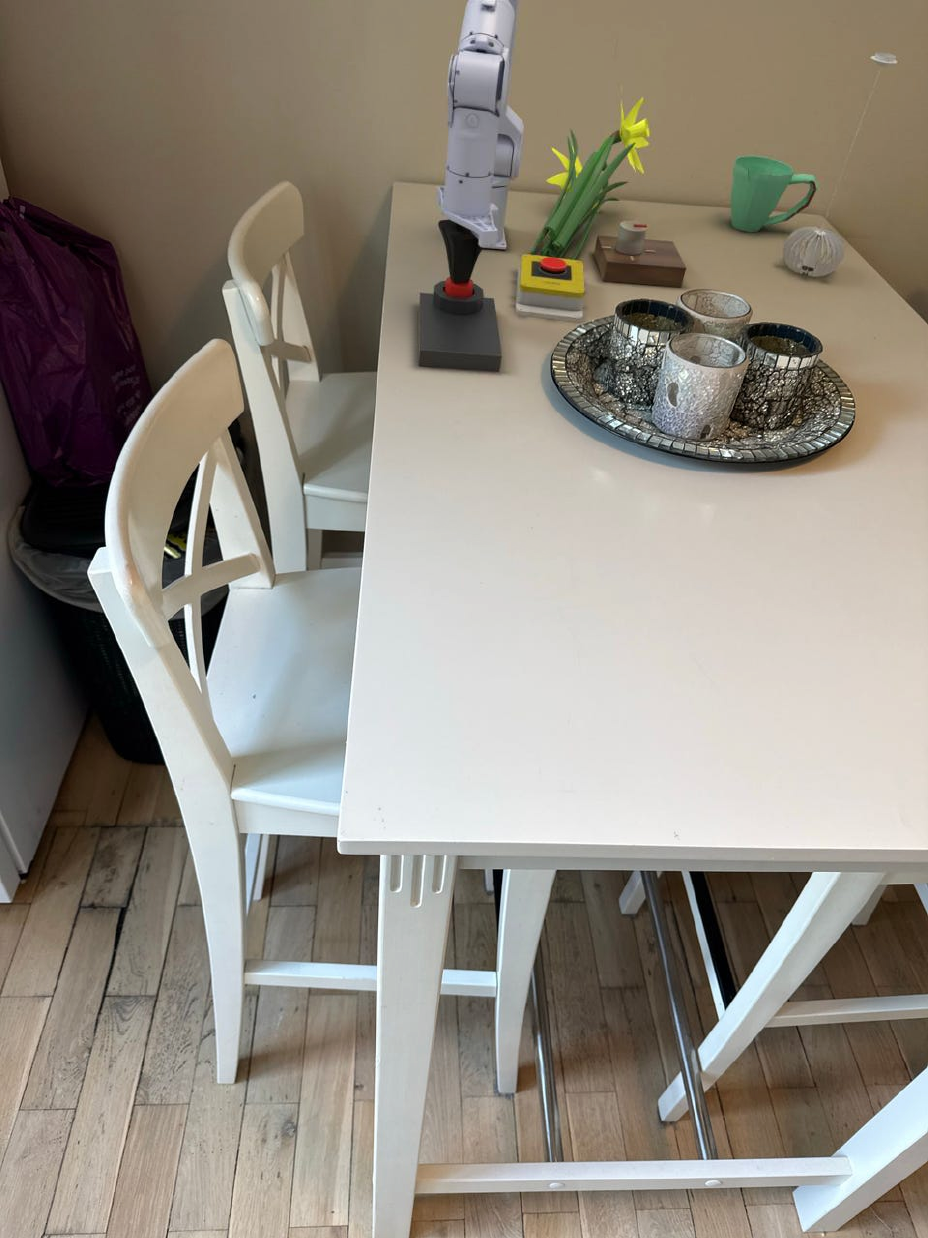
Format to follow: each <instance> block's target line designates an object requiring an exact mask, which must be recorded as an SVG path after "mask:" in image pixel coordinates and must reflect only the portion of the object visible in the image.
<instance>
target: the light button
mask: <svg viewBox="0 0 928 1238" xmlns="http://www.w3.org/2000/svg"><path fill="white" fill-rule="evenodd" d="M445 281H446V285H445V293H446V294H447V295H450V296H453V297H463V298H465V297H470V296H472V292H473V283H474V281H473V279H471V278H470V280H469V282H468V283H460V284H454V283H453V281H452V280H451V278H450V276H448V277H446V279H445Z"/></svg>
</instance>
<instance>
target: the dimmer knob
mask: <svg viewBox="0 0 928 1238" xmlns="http://www.w3.org/2000/svg"><path fill="white" fill-rule="evenodd" d="M647 231H648V225H647V224H646V223H645V224H644V223H642V222H638V221H635V220H624V221H621V222H620V223H619V228H618V232H617V236H616V237H617V241H616V246H615V249H616V250H617V251H619V252H621V253H624V254H628V255H637V254H640V253H641V251H642V247H643V243H644V239H646V233H647Z"/></svg>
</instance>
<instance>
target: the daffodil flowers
mask: <svg viewBox="0 0 928 1238" xmlns="http://www.w3.org/2000/svg"><path fill="white" fill-rule="evenodd" d="M620 91H621V93H623V92H622V91H623V86H622V85H621V86H620ZM622 101H623V100H620V112H621V113H620V115H621V116H620V127H619V129H617V130H615V131H614V132H613V133H611V134H610V135H609V136H608V137H607V138H606V139H605V140H604V142H602V145H601V146H600V148H599V149H598V151H593V152H591V154H590V155H589V157H588V159H586V162H585V163H584V165H583V166H582V163H581V161H580V159H579V157H578V152H579V144H578V139H577V138H576V135H575V134H574V131H573V129H572V128H569V130H570V136H571V140H570V137H569V136H567V147H568V152H569V153H568V154H569V155H568V157H569V158H567V156H565V155H564V154H562V153H561V152H560V151H559V150H557V149H556V148H554V147H551V150H552V152H553V153H554V154H555V155H556V156H557V157H558V159H559V160H560V162H561V163H562V165H563V167H564V168H565V170H566V171H565V172H561V173H559V174H556V175H553V176H551V177H549V178H547V179H546V182H547V183H548V184H552V185H557V186H559V187H560V190H561V191H560V194H559V196H558V197H557V200H556V202H555V204H554V205H553V207H552V209H551V212H550V214H549V216H548V218H547V220H546V222H545V223H544V226H543V228H542V230H541V232H540V234H539V236H538V238H537V239H536V241H535V243H534V245H533V246H532V248H531V250H530V252H529V253H528V254H529V255H534V253H535V251H536V249H537V248H538V246H539V244H542V243H543V241H544V240H545V239H546V237H547V235H548V236H549V237H548V238H547V240H546V241H545V244H544V246H543V247H542V249H541V251H540V253H539V254H540V256H545V257H554V258H563V256H564V255H565V253H566V251H567V249H568V248H569V247H570V245H571V243H572V242H573V240H574V239H575V237H576V236H577V235H578V234H579V232H580V231H581V230H582V228H583V226H584V225H585V224H586V223H587V222H588V223H587V224H586V227H585V230H584V232H583V233H582V235H581V238H580V240H579V242H578V244H577V246H576V248H575V250H574V252H573V254H572V256H571V258H570V260H577V257H578V254H579V253H580V251H581V249H582V247H583V245H584V243H585V241H586V239H587V236H588V234H589V232H590V230H591V228H592V225H593V224H594V221H595V219H596V217H597V214H598V213H599V212H600V208H601V206H603V205H604V204H605V203H606V202H620V199H618V198H616V197H614V196H613V197H612V196H610V197H606V195H607V194H608V193H610V192H611V191H613V190H614V189H617V188H620V187H621V186H623V185H626V184H628V183H629V181H617V182H613V183H611V184H609V181H610V178H611V176H613V174H614V173H615V171H616V170H617V169H618V167H619V166H620V164H622V162H623V161H624V159H625V158H626V157H627V159H628V161H629V164H630V165H631V167H632V168H633V170H634V171H635V173H636V172H637V170H639V172H641V173H642V175H643V174H645V172H644V168H643V164H642V162H641V160H640V158H639V155H638V152H637V149H640V148H644V147H647V146H649V145H650V143H649V141H647V140H646V139H645V138H649V137H650V136H651V134H650V133H651V131H650V129H651V128H649V126H650V124H648V123H649V121H648V118H647V117H645V118H643V119H642V120H640V121H639V122H637V123H636V120H637V117H638V113H639V110H640V108H641V106H642V104H643V102H644V96H642V97H641V98H640V99H639V100H638V101H637V102H636V103H635V105H634V106H633V107H632V108H631V110H630V111H629V113H628V114H627V116H626V118H625V112H624V107H623V102H622ZM571 141H572V143H573V144H572V143H571ZM621 142H622V144H623V145H624V147H625V148H624V149H622V151H620V152H619V153H618V154H617V155H616V156H615V157H614V158H612V160H611V161H610V162H609V163H607V160H608V158H609V155H610V153H611V150H612V148H613V146H614V145H616V144H619V143H621ZM636 148H637V149H636ZM636 169H637V170H636Z"/></svg>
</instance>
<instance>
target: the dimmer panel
mask: <svg viewBox="0 0 928 1238" xmlns="http://www.w3.org/2000/svg"><path fill="white" fill-rule="evenodd" d="M595 241H596V242H595V247H594V252H593V256H594V259H595V263H596V265H597V267H598V270H599V273H600V277H601V279H602V281H603V282H607V283H620V284H621V283H622V284H633V285H645V286H646V285H647V286H657V287H673V288H682V286H683V282H684V278H685V275H686V271H687V266H686V264H685V261H684V260H683V258H682V256H681V254H680V253H679V251H678V249H677V247H676V245H675V243H674V241H672V240H660V239H650V238H649V239H647V238H644V243H643V247H642V251H641V253H640V254H637V255H628V254H624V253H621V252H619V251H617V250H616V249H615V246H616V241H617V236H612V235H599V234H598V235H597V236H596V240H595Z"/></svg>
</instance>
